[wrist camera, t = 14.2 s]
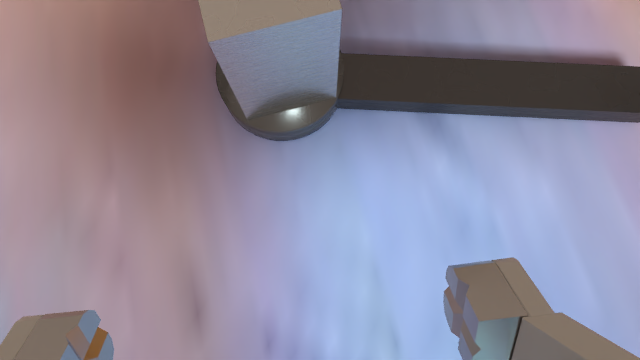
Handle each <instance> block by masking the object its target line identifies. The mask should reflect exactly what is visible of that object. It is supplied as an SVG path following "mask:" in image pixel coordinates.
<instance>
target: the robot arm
mask: <svg viewBox="0 0 640 360" xmlns="http://www.w3.org/2000/svg"><path fill="white" fill-rule="evenodd" d="M446 280H447V282H448V285H449V287H448V288H447V289H446V290H445V291H444V301H443V302H444V310H445V315H446V319H447V322H448V325H449V327H450V330H451V332H452V333H454V334H455V335H456V336H458V337H459V338H460V339H459V346H458V350H459V352H460V354H461V357H462V359H463V360H640V358H638V357H637V356H635V355H633V354H631V353H630V352H628V351H626V350H625V349H623V348H621V347H620V346H618V345H616V344H614V343H613V342H611V341H609V340H608V339H606V338H604V337H602V336H601V335H599V334H597V333H596V332H594V331H592V330H591V329H589V328H587V327H585V326H584V325H582V324H580V323H579V322H577V321H575V320H573V319H572V318H570V317H568V316H567V315H565V314H563V313H554V311H553V310H552V309H551V307H550V306H549V304H548V303H547V301H546V300H545V299H544V297H543V296H542V294H541V293H540V291H539V290H538V288H537V287H536V286H535V284H534V283H533V281H532V280H531V278H530V277H529V276H528V274H527V273H526V271H525V270H524V268H523V267H522V266H521V264H520V263H519V261H518V260H517V259H515V258H506V259H498V260H492V261H482V262H474V263H467V264H459V265H451V266H448V268H447V270H446ZM100 321H101V319H100V318H99V316H98V315H97V313H96V312H95V310H84V311H74V312H63V313H53V314H45V315H36V316H26V317H22V318H21V319H20V320H18V321H17V322H16V323H15V324H14V325H13V327H12V328H11V330H10V332H9V333H8V335H7V336H6V338H5V339H4V341H3V342H2V344H1V345H0V360H113V353H114V347H113V342H112V339H111V337H110V335H109V333H108V332H106V331H104V330H102V329H101V328H99V327H98V325H99V323H100Z"/></svg>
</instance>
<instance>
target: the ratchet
mask: <svg viewBox="0 0 640 360" xmlns="http://www.w3.org/2000/svg"><path fill="white" fill-rule="evenodd" d="M216 80H217V85H218V90H219V92H220V95H221V97H222V99H223V101H224V102H225V104H226V106H227V107H228V109H229V111H230V112H231V114H232V116H233V117H234V118H235V120H236V121H237V122H238V123H239V124H240V125H241V126H242V127H243V128H245V129H246V130H247V131H249V132H251V133H253V134H254V135H256V136H259V137H262V138H265V139H269V140H276V141H288V140H295V139H298V138H302V137H305V136H307V135H310V134H311V133H313V132H315V131H317V130H318V129H319V128H321V127H322V126H323V125H324V124H325V123H326V122H327V121H328V120H329V119H330V118H331V117H332V115H333V114H334V112H335V111H336V109H337V108H344V109H365V110H386V111H407V112H428V113H448V114H469V115H490V116H511V117H532V118H553V119H574V120H595V121H616V122H637V123H639V122H640V67H634V66H612V65H589V64H567V63H545V62H523V61H500V60H478V59H456V58H433V57H411V56H389V55H367V54H344V53H341V51H340V48H339V62H338V76H337V91H336V98H334V99H330V100H326V101H322V102H318V103H315V104H311V105H307V106H303V107H299V108H295V109H291V110H288V111H284V112H280V113H276V114H272V115H268V116H264V117H261V118H257V119H253V120H249V121H248V120H247V118H246V116H245V114H244V112H243V110H242V108H241V106H240V104H239V102H238V100H237V98H236V96H235V94H234V92H233V90H232V88H231V86H230V85H229V83H228V81H227V79H226V77H225V75H224V73H223V71H222V69H221V67H220V65H219V63H218V61H217V66H216Z"/></svg>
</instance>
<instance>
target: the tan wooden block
mask: <svg viewBox="0 0 640 360" xmlns="http://www.w3.org/2000/svg"><path fill="white" fill-rule="evenodd" d="M198 2H199V6H200V10H201V15H202V19H203V23H204V27H205V31H206V36H207V40H208V43H209V45H210V47H211V49H212V51H213V53H214V55H215V57H216V59H217V61H218V63H219V65H220V67H221V69H222V71H223V73H224V75H225V77H226V79H227V81H228V83H229V85H230V86H231V88H232V90H233V92H234V94H235V96H236V98H237V100H238V102H239V104H240V106H241V108H242V110H243V112H244V114H245V116H246V118H247V120H248V121H249V120H253V119H257V118H261V117H264V116H268V115H272V114H276V113H280V112H284V111H288V110H291V109H295V108H299V107H303V106H307V105H311V104H315V103H318V102H322V101H326V100H330V99H334V98H336V91H337V76H338V62H339V47H340V33H341V18H342V7H341V4H340V1H339V0H198Z"/></svg>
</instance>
